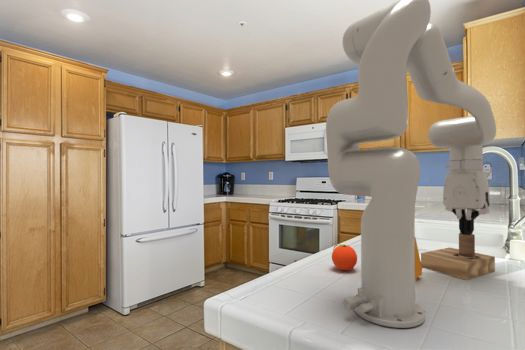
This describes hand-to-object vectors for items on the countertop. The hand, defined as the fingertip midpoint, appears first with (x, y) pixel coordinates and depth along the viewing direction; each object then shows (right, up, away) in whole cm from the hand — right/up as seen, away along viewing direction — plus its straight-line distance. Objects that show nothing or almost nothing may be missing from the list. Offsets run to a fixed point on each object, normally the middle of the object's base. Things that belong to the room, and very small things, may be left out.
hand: (466, 233), depth 82 cm
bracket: (-22, -11, -6) cm, 25 cm away
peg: (0, -10, 0) cm, 10 cm away
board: (-2, -10, +1) cm, 10 cm away
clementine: (-34, -11, +2) cm, 35 cm away
